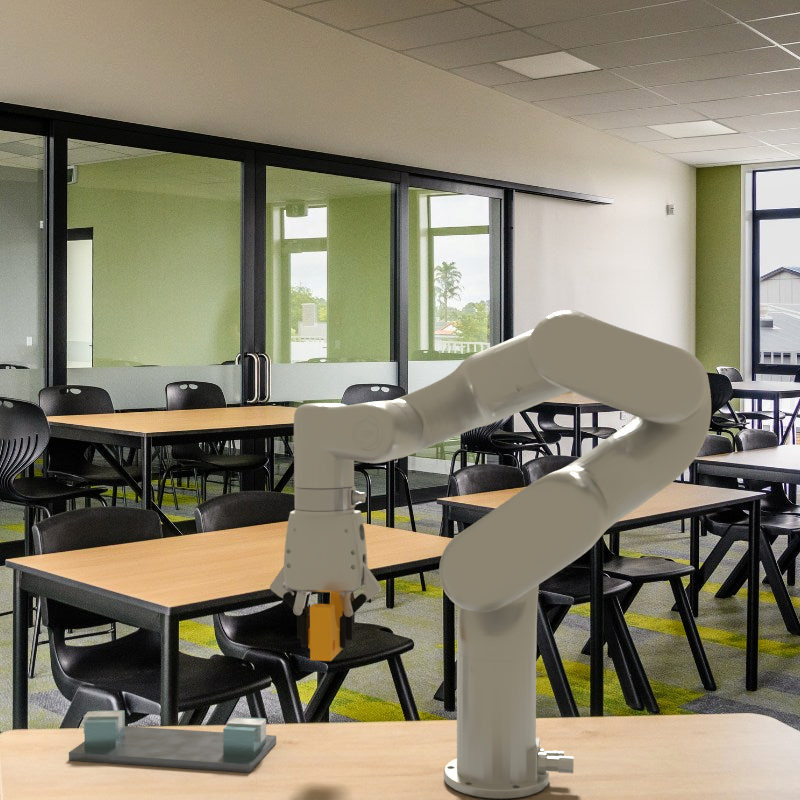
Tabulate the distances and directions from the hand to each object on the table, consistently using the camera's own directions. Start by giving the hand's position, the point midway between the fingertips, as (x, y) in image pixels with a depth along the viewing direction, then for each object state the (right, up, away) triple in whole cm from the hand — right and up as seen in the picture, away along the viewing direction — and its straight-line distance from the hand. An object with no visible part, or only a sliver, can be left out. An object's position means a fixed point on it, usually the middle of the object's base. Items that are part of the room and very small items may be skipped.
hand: (326, 643), depth 136 cm
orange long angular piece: (0, -1, 0) cm, 1 cm away
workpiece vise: (-20, -15, +4) cm, 25 cm away
